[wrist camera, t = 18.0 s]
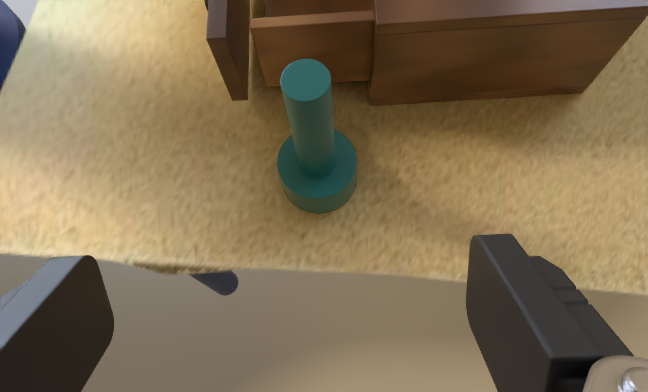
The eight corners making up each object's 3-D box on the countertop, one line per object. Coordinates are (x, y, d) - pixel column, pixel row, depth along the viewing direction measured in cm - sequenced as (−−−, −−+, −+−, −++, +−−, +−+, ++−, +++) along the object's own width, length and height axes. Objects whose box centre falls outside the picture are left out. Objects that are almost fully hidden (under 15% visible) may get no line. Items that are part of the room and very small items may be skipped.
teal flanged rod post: (283, 215, 32) (249, 131, 21) (282, 148, 34) (251, 38, 23) (358, 211, 32) (364, 124, 21) (353, 143, 34) (356, 31, 23)
